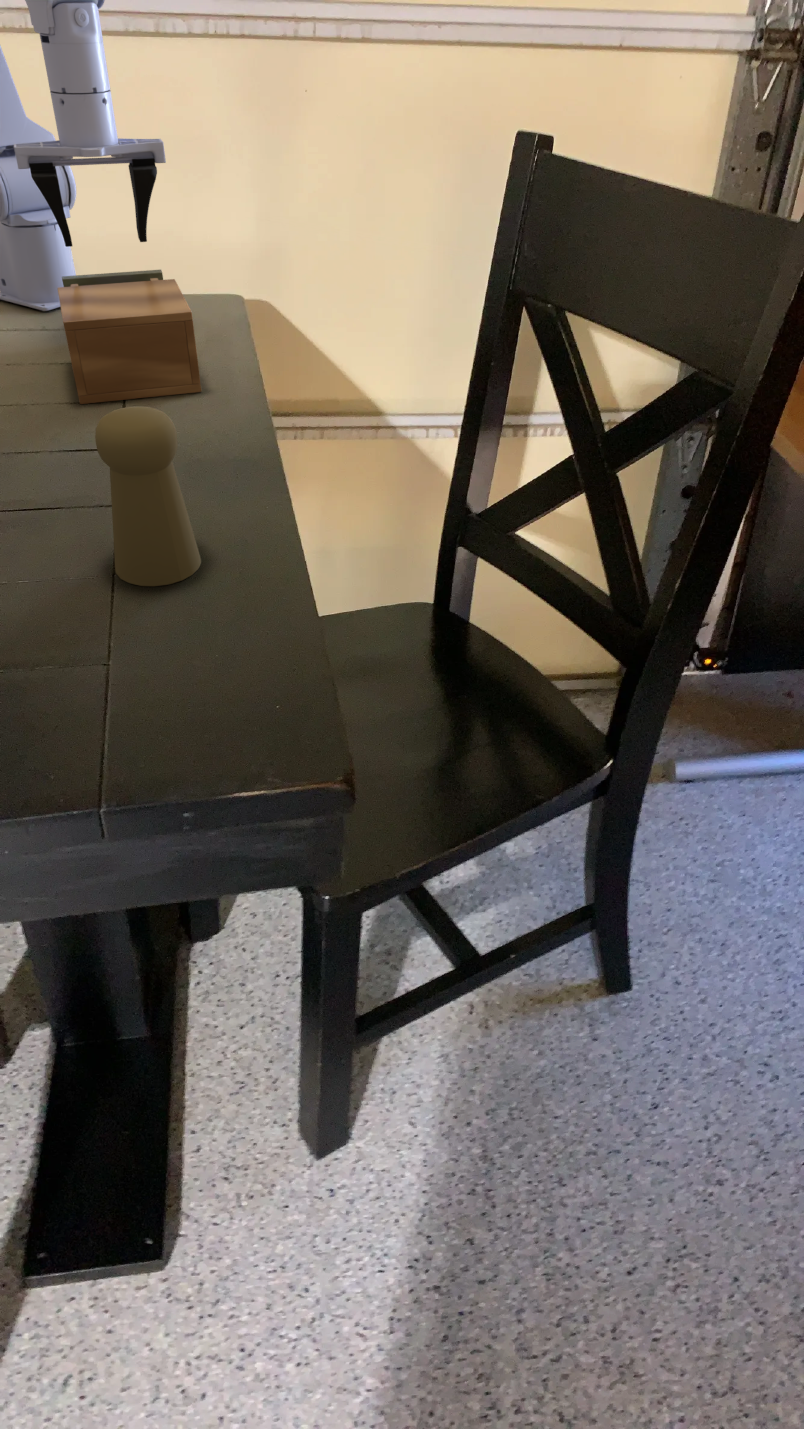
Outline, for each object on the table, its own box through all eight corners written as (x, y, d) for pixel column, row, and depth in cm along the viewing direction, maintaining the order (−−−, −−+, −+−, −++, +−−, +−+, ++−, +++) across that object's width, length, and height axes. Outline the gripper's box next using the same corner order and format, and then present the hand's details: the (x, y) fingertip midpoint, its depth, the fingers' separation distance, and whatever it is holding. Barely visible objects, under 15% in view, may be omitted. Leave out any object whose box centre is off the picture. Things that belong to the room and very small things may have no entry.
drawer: (70, 321, 108) (59, 266, 104) (163, 313, 110) (156, 259, 106) (78, 364, 97) (66, 304, 93) (181, 354, 99) (174, 296, 96)
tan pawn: (106, 553, 69) (75, 404, 62) (188, 536, 71) (167, 390, 64) (125, 593, 65) (93, 438, 58) (211, 575, 67) (191, 422, 60)
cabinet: (72, 364, 99) (57, 287, 94) (184, 353, 102) (174, 278, 97) (80, 404, 91) (63, 321, 86) (201, 391, 94) (191, 311, 89)
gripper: (2, 97, 88) (36, 255, 97) (160, 93, 92) (179, 246, 100) (2, 88, 93) (34, 239, 102) (152, 85, 97) (170, 231, 106)
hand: (106, 242), depth 101 cm, fingers open, 7 cm apart
